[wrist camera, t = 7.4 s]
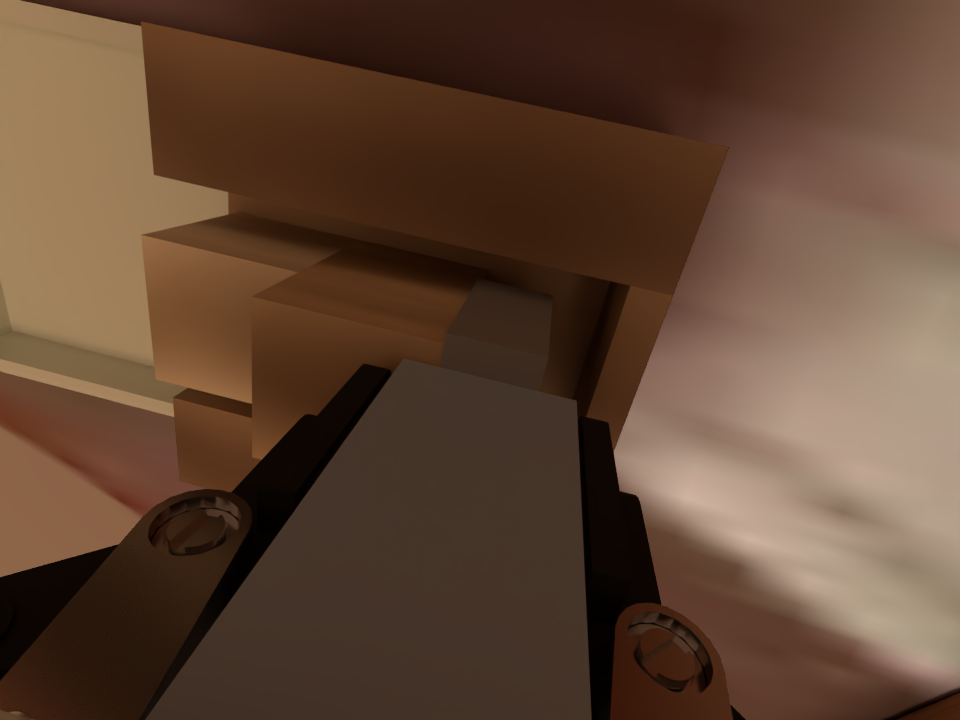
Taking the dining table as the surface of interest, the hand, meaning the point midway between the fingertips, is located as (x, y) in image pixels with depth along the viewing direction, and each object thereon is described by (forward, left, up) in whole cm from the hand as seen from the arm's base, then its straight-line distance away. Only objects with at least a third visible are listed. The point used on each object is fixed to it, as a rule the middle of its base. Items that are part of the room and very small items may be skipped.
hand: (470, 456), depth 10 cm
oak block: (0, -3, -6) cm, 7 cm away
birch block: (0, -7, -6) cm, 10 cm away
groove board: (0, -3, -9) cm, 9 cm away
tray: (0, -15, -9) cm, 18 cm away
